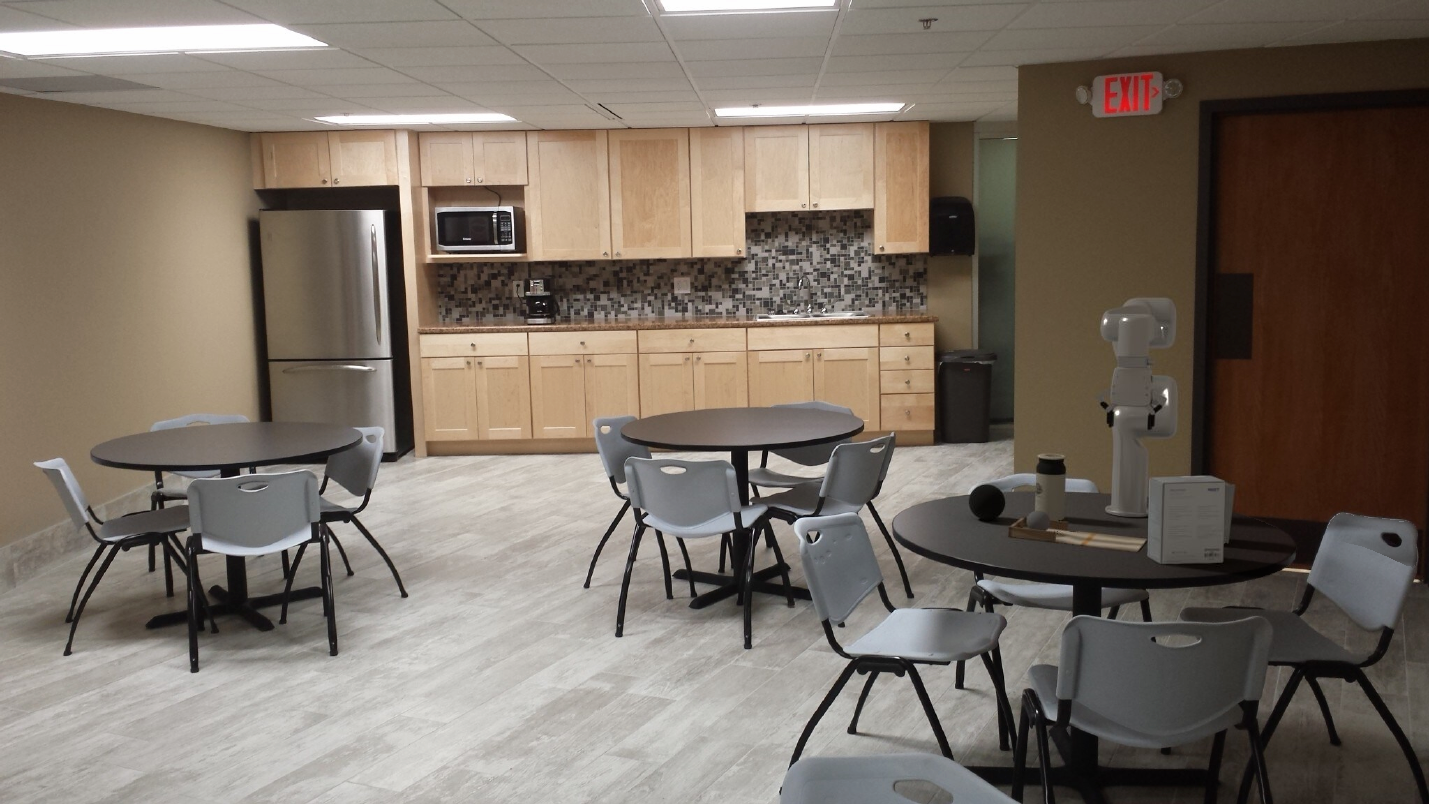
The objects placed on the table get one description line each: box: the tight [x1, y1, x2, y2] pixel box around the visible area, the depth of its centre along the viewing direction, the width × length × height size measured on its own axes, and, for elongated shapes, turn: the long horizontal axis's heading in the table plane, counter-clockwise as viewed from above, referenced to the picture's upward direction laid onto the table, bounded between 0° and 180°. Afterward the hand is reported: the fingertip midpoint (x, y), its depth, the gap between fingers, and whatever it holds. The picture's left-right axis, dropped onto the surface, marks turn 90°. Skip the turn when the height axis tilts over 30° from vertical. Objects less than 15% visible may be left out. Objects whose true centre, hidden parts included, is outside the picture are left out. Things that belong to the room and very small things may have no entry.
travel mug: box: [1034, 453, 1067, 521], centre depth 302 cm, size 8×8×18 cm
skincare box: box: [1224, 482, 1236, 545], centre depth 276 cm, size 8×7×16 cm
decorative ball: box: [968, 483, 1006, 521], centre depth 302 cm, size 10×10×10 cm
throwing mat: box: [1008, 516, 1148, 553], centre depth 280 cm, size 14×32×3 cm, turn 59°
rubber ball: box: [1027, 510, 1050, 531], centre depth 285 cm, size 6×6×6 cm
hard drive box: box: [1147, 475, 1227, 565], centre depth 257 cm, size 16×8×20 cm, turn 92°
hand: (1130, 428), depth 282 cm, fingers open, 9 cm apart
